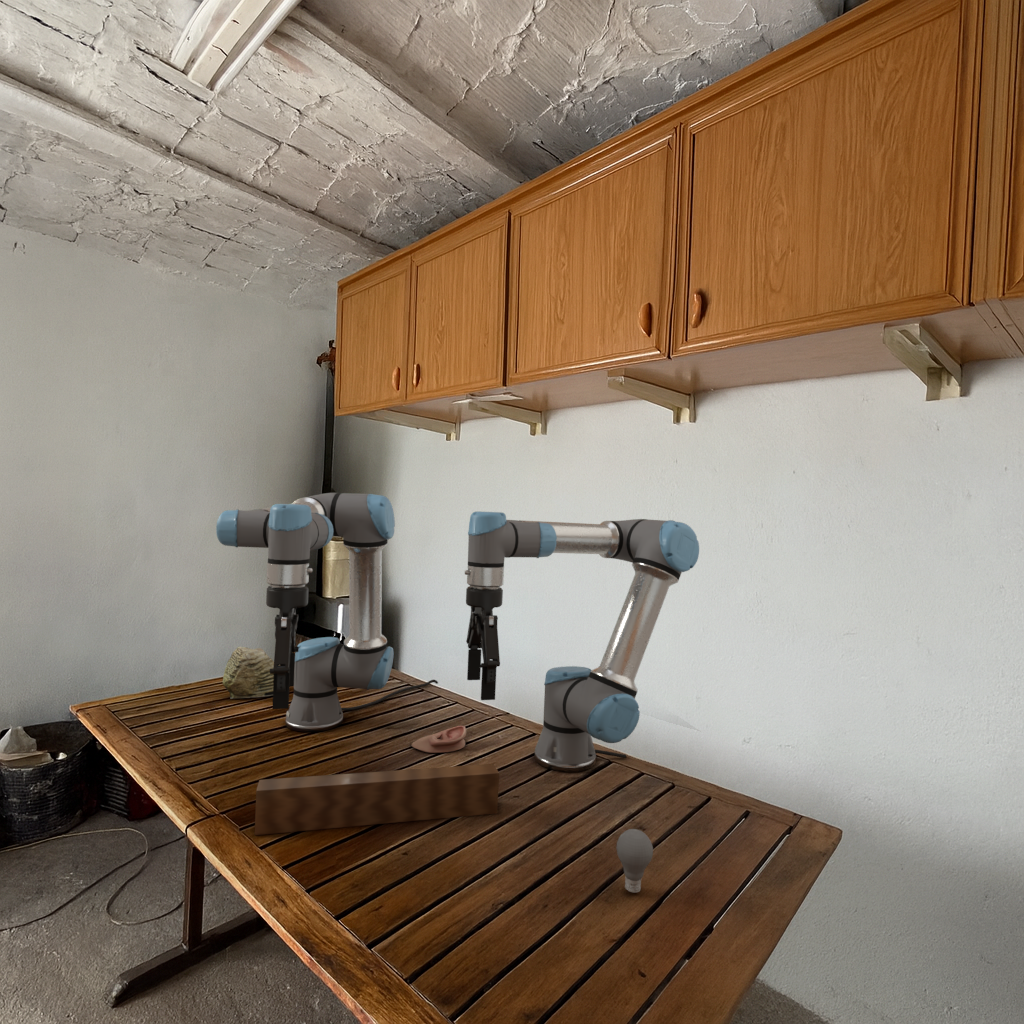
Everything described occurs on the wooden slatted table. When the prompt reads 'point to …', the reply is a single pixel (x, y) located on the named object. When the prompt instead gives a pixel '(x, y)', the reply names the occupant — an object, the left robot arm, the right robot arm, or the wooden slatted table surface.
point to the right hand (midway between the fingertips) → (480, 689)
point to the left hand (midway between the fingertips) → (283, 696)
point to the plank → (374, 798)
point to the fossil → (249, 673)
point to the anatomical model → (442, 741)
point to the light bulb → (634, 857)
